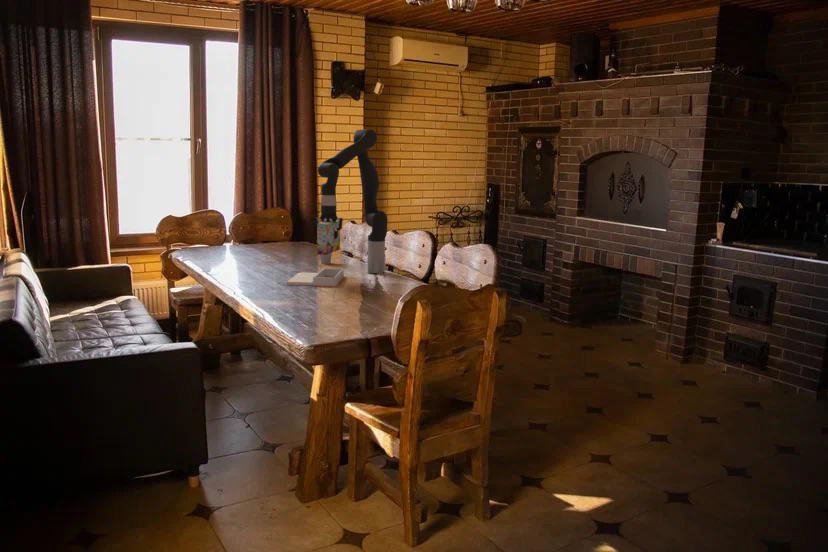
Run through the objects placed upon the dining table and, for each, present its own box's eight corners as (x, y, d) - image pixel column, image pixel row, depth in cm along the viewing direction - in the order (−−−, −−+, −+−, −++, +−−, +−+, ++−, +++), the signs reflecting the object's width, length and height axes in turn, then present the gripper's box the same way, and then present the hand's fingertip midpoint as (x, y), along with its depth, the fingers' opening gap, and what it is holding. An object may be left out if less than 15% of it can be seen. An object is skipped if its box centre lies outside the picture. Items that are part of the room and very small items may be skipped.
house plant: (340, 265, 392) (340, 236, 389) (316, 266, 388) (315, 237, 386) (337, 261, 405) (337, 233, 402) (313, 262, 402) (313, 233, 399)
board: (322, 275, 359) (322, 273, 359) (311, 285, 334) (311, 282, 334) (299, 275, 360) (299, 272, 360) (287, 284, 335) (286, 281, 334)
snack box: (327, 255, 333) (327, 223, 330) (316, 254, 334) (316, 223, 331) (341, 249, 353) (340, 219, 351) (330, 248, 354) (330, 219, 352)
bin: (343, 276, 359) (343, 268, 358) (335, 286, 333) (335, 278, 332) (323, 275, 359) (323, 268, 359) (313, 285, 334) (313, 277, 333)
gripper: (344, 204, 343) (344, 237, 346) (315, 203, 344) (316, 237, 347) (342, 205, 335) (342, 239, 338) (312, 204, 336) (313, 239, 339)
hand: (329, 238), depth 342 cm, fingers closed on snack box, 6 cm apart
